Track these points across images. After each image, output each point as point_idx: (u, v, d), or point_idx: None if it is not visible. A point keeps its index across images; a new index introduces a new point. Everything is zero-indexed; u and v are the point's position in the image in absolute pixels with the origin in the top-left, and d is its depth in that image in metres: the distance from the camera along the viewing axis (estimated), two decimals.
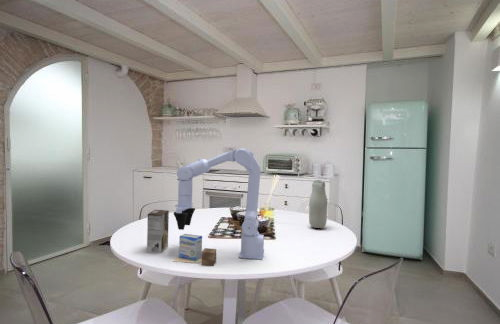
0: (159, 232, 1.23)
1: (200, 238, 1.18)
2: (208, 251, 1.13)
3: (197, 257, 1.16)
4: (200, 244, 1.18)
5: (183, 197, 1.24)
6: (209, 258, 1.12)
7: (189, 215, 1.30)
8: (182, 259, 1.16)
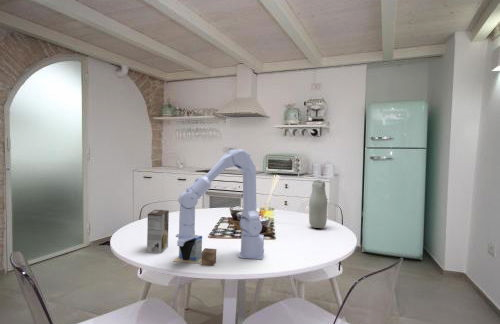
0: (159, 232, 1.23)
1: (200, 238, 1.18)
2: (208, 251, 1.13)
3: (197, 257, 1.16)
4: (200, 244, 1.18)
5: (185, 227, 1.10)
6: (209, 258, 1.12)
7: None
8: (182, 259, 1.16)
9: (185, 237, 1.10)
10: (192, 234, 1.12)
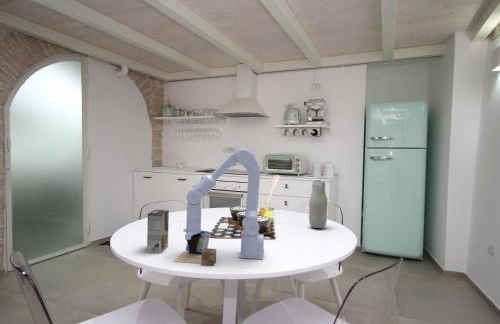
0: (159, 232, 1.23)
1: (208, 233, 1.26)
2: (208, 251, 1.13)
3: None
4: (207, 239, 1.26)
5: (192, 222, 1.19)
6: (209, 258, 1.12)
7: None
8: (182, 259, 1.16)
9: (192, 231, 1.19)
10: (198, 228, 1.20)
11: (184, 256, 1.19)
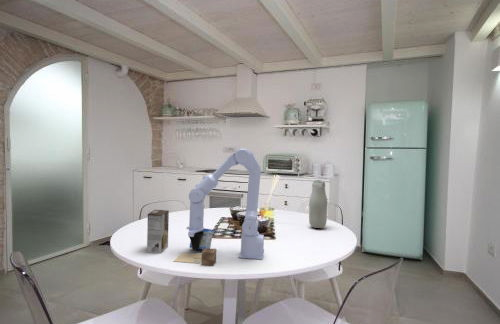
0: (159, 232, 1.23)
1: (211, 231, 1.30)
2: (208, 251, 1.13)
3: (206, 247, 1.26)
4: (210, 237, 1.29)
5: (195, 220, 1.23)
6: (209, 258, 1.12)
7: None
8: (182, 259, 1.16)
9: (195, 229, 1.23)
10: (201, 226, 1.24)
11: (184, 256, 1.19)
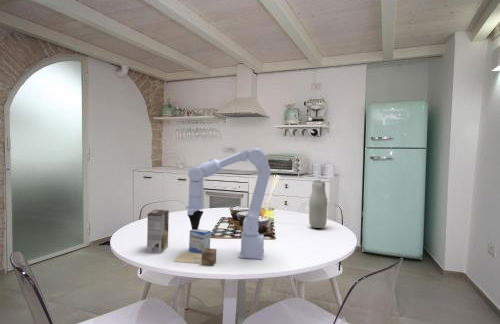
0: (159, 232, 1.23)
1: (209, 233, 1.28)
2: (208, 251, 1.13)
3: None
4: (209, 238, 1.28)
5: (194, 198, 1.20)
6: (209, 258, 1.12)
7: None
8: (182, 259, 1.16)
9: (194, 208, 1.20)
10: (200, 205, 1.22)
11: (184, 256, 1.19)
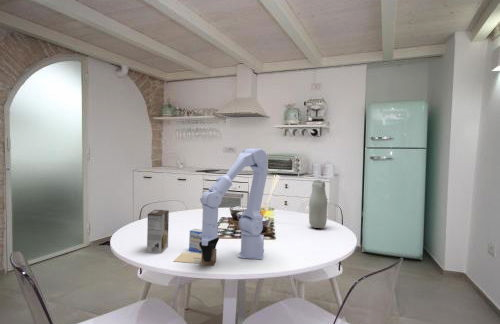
0: (159, 232, 1.23)
1: None
2: None
3: None
4: None
5: (208, 226, 1.11)
6: None
7: None
8: (182, 259, 1.16)
9: (209, 236, 1.11)
10: (215, 233, 1.12)
11: (184, 256, 1.19)
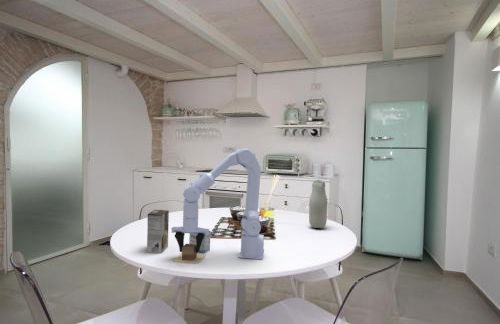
0: (159, 232, 1.23)
1: (209, 233, 1.28)
2: (186, 245, 1.18)
3: (206, 250, 1.26)
4: (209, 238, 1.28)
5: None
6: None
7: None
8: None
9: (182, 228, 1.17)
10: (185, 227, 1.15)
11: None
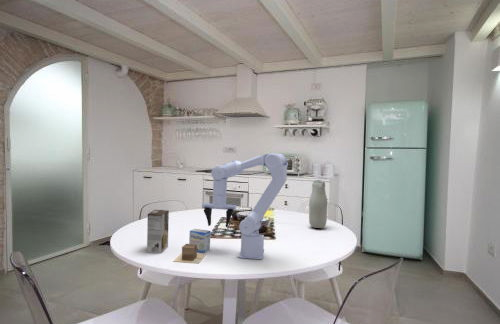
0: (159, 232, 1.23)
1: (209, 233, 1.28)
2: (186, 245, 1.18)
3: (206, 250, 1.26)
4: (209, 238, 1.28)
5: (213, 195, 1.29)
6: None
7: None
8: None
9: (212, 204, 1.29)
10: (215, 203, 1.27)
11: None
